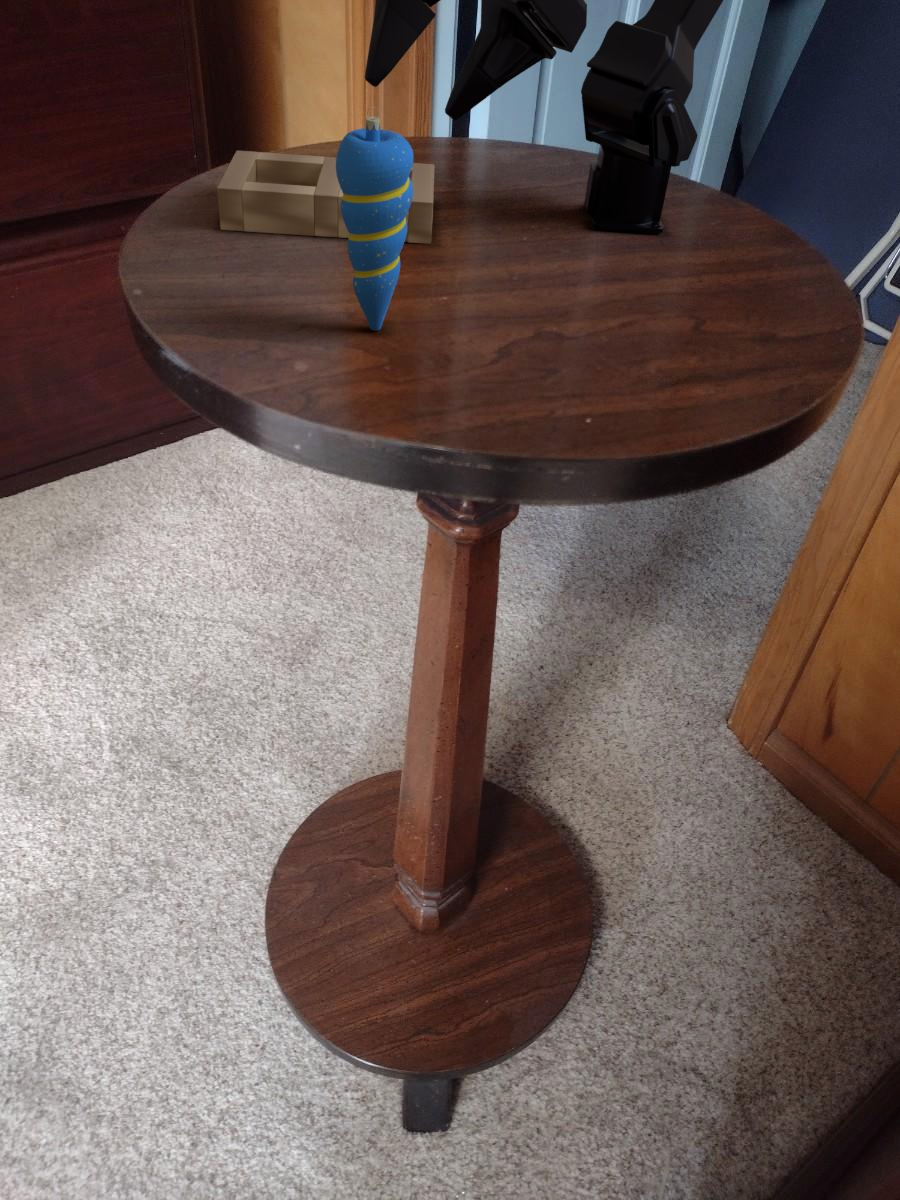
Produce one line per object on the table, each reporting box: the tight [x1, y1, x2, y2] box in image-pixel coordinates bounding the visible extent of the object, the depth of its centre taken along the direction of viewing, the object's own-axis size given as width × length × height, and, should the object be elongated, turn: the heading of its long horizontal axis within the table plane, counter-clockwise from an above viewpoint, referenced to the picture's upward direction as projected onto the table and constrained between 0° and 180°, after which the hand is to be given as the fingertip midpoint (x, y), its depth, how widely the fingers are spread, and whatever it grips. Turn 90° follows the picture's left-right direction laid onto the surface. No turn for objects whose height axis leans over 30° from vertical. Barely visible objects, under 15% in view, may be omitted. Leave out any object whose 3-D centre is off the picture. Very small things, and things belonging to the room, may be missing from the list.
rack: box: [216, 150, 435, 245], centre depth 86 cm, size 18×10×4 cm, turn 90°
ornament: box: [335, 106, 415, 332], centre depth 66 cm, size 5×5×15 cm
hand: (408, 99), depth 69 cm, fingers open, 9 cm apart
